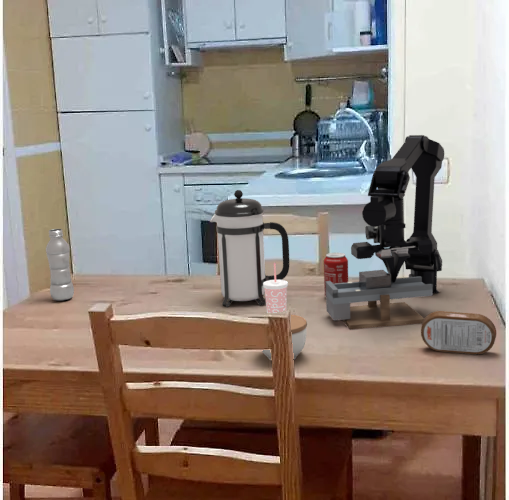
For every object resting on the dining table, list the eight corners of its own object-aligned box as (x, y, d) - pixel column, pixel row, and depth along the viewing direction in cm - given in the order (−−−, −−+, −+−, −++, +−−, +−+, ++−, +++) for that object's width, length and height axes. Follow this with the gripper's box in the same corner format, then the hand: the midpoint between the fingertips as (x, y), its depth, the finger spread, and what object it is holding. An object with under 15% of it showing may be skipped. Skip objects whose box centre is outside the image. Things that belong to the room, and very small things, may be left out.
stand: (404, 305, 179) (404, 279, 177) (424, 323, 165) (424, 294, 164) (335, 311, 177) (334, 284, 175) (349, 329, 163) (349, 300, 162)
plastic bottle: (46, 302, 197) (37, 232, 193) (61, 295, 203) (53, 227, 199) (65, 303, 195) (57, 232, 190) (79, 297, 201) (72, 228, 196)
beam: (419, 301, 176) (419, 272, 175) (433, 312, 168) (433, 281, 166) (325, 310, 174) (325, 280, 172) (334, 321, 165) (333, 290, 164)
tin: (495, 352, 146) (497, 313, 144) (495, 357, 143) (496, 318, 141) (421, 346, 151) (421, 308, 149) (419, 351, 148) (419, 313, 146)
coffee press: (243, 313, 179) (237, 196, 172) (205, 301, 191) (198, 191, 184) (292, 298, 190) (288, 187, 183) (253, 288, 202) (248, 183, 195)
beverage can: (348, 294, 191) (347, 251, 188) (348, 301, 184) (348, 257, 182) (324, 295, 191) (323, 252, 189) (324, 302, 185) (323, 257, 183)
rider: (383, 285, 173) (382, 269, 172) (390, 291, 167) (390, 275, 166) (359, 287, 172) (359, 271, 171) (366, 293, 166) (366, 277, 165)
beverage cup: (261, 320, 172) (258, 265, 169) (269, 313, 178) (266, 259, 175) (285, 322, 170) (282, 266, 167) (292, 314, 176) (290, 260, 173)
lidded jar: (269, 370, 142) (267, 325, 140) (248, 353, 151) (246, 311, 149) (316, 360, 146) (315, 316, 144) (293, 344, 156) (292, 303, 153)
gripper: (416, 209, 175) (418, 270, 179) (343, 216, 173) (346, 277, 176) (434, 217, 164) (435, 281, 168) (356, 224, 162) (358, 289, 166)
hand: (392, 282), depth 170 cm, fingers closed
